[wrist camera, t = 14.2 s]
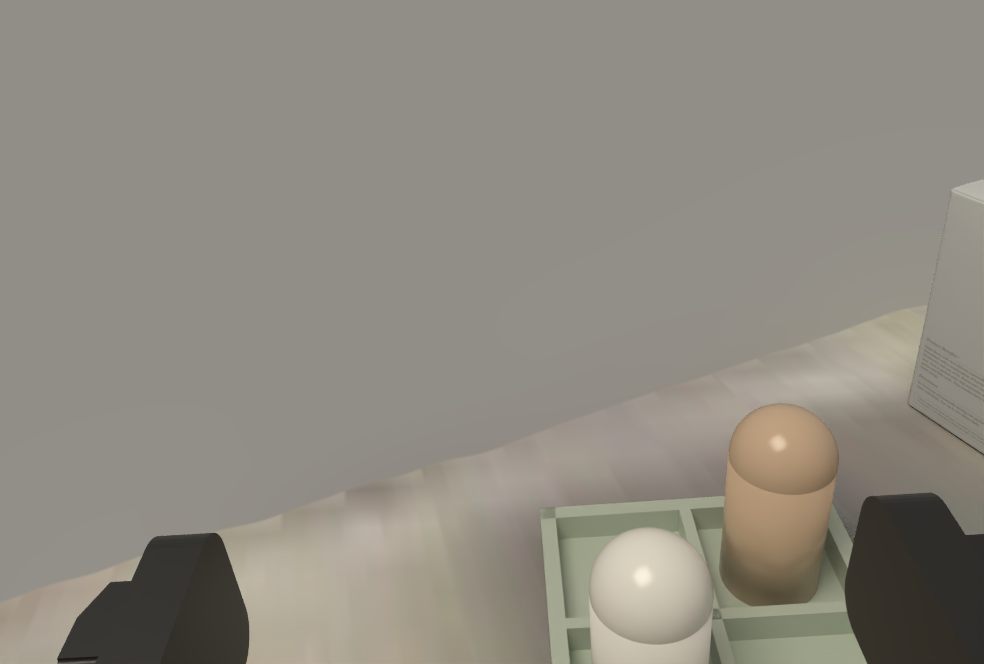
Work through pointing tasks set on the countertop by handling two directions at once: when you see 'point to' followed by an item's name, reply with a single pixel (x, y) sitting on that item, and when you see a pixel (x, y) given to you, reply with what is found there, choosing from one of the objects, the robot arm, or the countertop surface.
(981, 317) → the supplement box
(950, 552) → the robot arm
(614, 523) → the green rectangular open tray
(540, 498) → the countertop surface
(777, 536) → the tan dome-topped cylinder
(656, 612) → the white dome-topped cylinder
